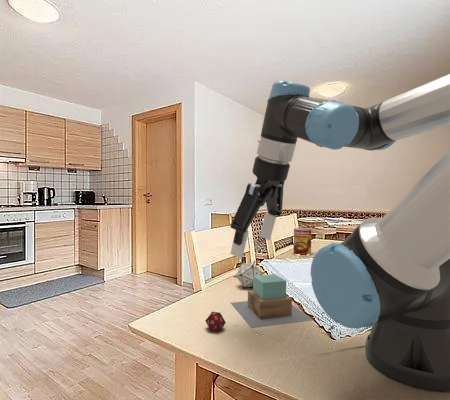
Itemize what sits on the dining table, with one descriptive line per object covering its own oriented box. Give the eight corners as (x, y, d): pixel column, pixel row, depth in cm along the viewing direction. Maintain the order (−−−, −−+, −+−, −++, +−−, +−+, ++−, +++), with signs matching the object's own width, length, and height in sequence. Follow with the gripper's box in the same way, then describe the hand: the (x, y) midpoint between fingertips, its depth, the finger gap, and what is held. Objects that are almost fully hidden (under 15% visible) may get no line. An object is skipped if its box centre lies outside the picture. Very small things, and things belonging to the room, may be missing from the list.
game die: (253, 301, 92) (262, 281, 86) (227, 289, 94) (235, 268, 88) (261, 280, 99) (270, 259, 93) (237, 269, 101) (244, 248, 95)
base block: (291, 315, 72) (291, 298, 72) (260, 319, 70) (260, 301, 70) (276, 303, 80) (276, 288, 80) (247, 306, 78) (247, 290, 77)
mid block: (286, 297, 73) (286, 280, 72) (262, 299, 71) (262, 282, 71) (275, 289, 78) (275, 274, 78) (253, 291, 77) (253, 275, 77)
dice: (207, 326, 67) (207, 308, 67) (227, 327, 66) (227, 309, 66) (203, 334, 63) (203, 315, 63) (224, 336, 63) (224, 316, 62)
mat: (312, 321, 70) (312, 319, 70) (251, 329, 66) (251, 327, 65) (282, 298, 84) (282, 297, 84) (230, 304, 80) (230, 302, 80)
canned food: (291, 255, 141) (291, 229, 141) (296, 252, 148) (296, 227, 147) (308, 257, 137) (308, 230, 137) (312, 253, 144) (313, 228, 144)
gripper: (281, 150, 77) (262, 226, 84) (226, 159, 57) (207, 257, 64) (309, 159, 73) (287, 237, 81) (261, 171, 53) (236, 273, 60)
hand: (251, 246), depth 72 cm, fingers open, 13 cm apart
